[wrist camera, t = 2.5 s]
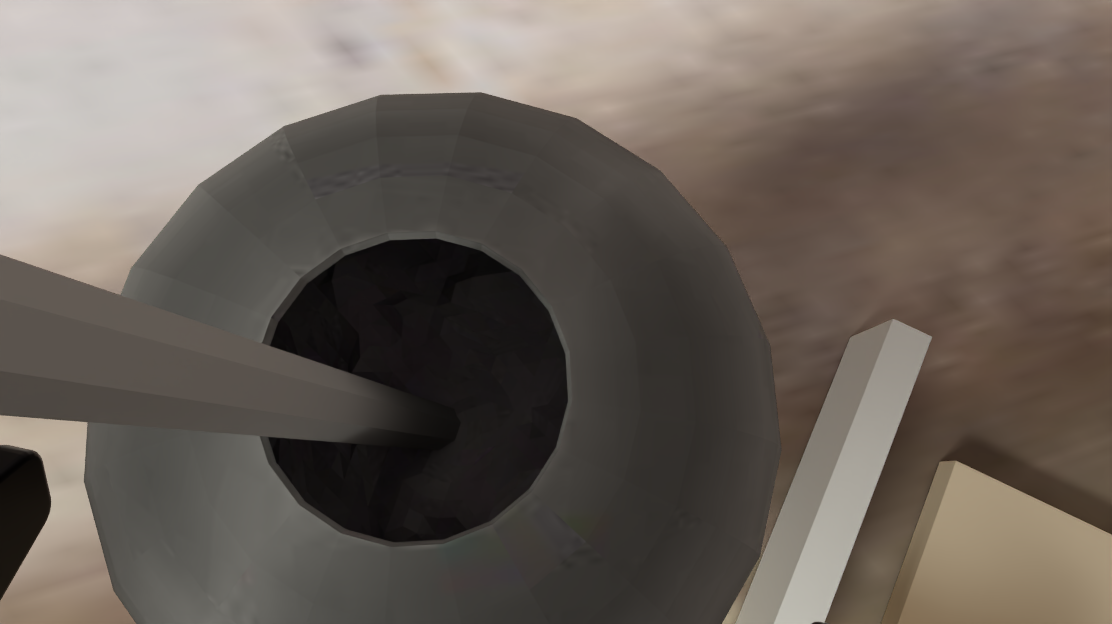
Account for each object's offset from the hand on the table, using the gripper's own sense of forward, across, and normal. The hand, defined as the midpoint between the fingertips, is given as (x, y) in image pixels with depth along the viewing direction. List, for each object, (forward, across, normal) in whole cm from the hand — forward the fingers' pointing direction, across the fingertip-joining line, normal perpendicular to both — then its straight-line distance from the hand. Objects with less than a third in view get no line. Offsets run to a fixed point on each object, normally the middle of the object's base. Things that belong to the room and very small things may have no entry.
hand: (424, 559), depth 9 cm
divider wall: (+8, -8, +8) cm, 13 cm away
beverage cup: (+9, 0, +7) cm, 11 cm away
